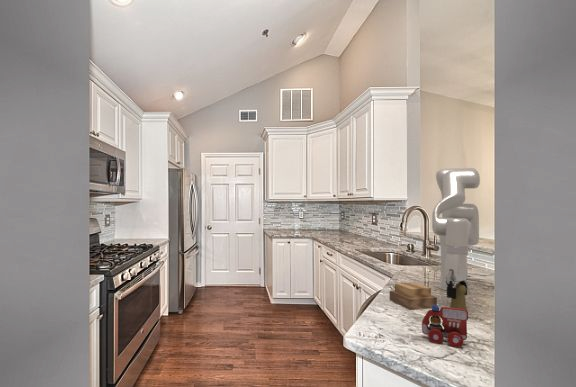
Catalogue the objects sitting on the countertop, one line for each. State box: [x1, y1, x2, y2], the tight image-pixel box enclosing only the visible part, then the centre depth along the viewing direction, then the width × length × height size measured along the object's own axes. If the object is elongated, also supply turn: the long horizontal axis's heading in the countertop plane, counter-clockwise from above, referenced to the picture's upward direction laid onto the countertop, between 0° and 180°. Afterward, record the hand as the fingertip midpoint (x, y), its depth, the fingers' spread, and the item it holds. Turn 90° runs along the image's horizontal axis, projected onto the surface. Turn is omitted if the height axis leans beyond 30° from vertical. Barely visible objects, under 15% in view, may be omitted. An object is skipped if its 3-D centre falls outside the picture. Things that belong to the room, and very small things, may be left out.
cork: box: [450, 284, 468, 311], centre depth 118 cm, size 6×6×11 cm
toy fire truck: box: [421, 304, 469, 348], centre depth 93 cm, size 7×12×10 cm, turn 64°
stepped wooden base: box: [389, 281, 438, 311], centre depth 129 cm, size 13×13×8 cm
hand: (457, 296), depth 118 cm, fingers open, 9 cm apart
